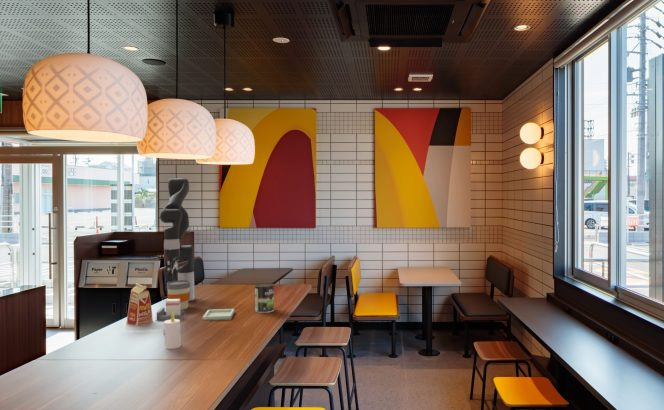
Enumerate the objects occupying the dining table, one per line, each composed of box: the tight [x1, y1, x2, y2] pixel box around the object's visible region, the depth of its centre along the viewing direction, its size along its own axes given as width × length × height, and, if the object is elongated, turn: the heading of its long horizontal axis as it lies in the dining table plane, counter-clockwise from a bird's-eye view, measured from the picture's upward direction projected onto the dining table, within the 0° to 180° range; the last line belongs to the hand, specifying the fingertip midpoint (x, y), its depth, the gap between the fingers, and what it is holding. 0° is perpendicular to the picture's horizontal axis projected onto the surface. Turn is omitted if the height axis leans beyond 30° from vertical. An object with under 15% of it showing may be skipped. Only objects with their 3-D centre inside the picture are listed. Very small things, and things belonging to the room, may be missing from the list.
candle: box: [163, 311, 182, 350], centre depth 178 cm, size 6×6×15 cm
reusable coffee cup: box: [166, 279, 190, 311], centre depth 239 cm, size 13×13×15 cm
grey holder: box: [155, 307, 188, 322], centre depth 220 cm, size 11×13×5 cm
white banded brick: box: [165, 298, 181, 315], centre depth 220 cm, size 4×6×9 cm
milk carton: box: [125, 282, 153, 327], centre depth 212 cm, size 9×9×20 cm
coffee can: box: [254, 282, 275, 314], centre depth 232 cm, size 10×10×14 cm
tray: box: [202, 308, 235, 322], centre depth 222 cm, size 14×14×2 cm
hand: (172, 279), depth 220 cm, fingers open, 8 cm apart
